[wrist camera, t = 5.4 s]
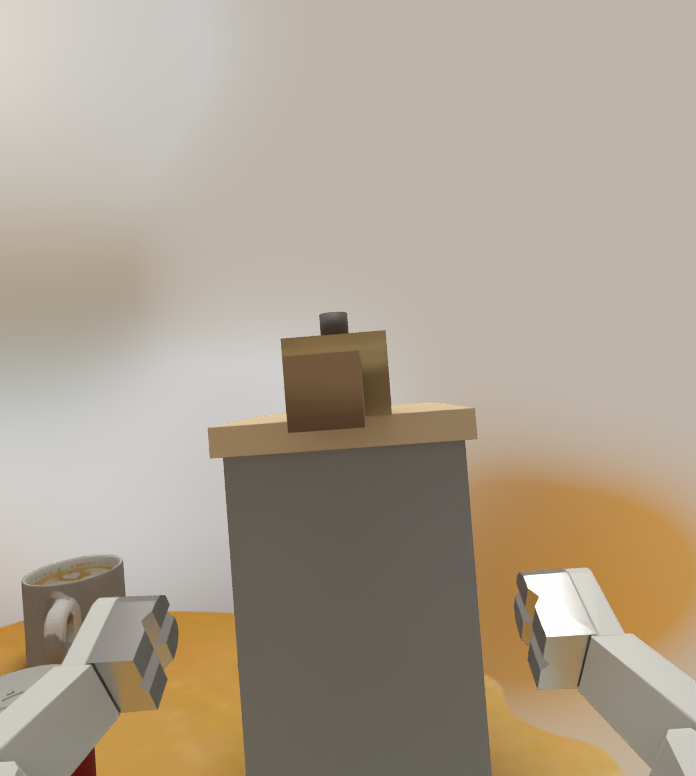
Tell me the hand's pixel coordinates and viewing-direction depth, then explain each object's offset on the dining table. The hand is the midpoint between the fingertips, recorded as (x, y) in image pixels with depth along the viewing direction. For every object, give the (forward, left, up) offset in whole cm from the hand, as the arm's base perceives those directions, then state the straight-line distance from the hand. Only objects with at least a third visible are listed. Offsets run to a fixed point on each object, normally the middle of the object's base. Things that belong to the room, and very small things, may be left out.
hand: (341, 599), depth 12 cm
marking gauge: (+13, +5, +4) cm, 14 cm away
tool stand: (+19, +7, -22) cm, 30 cm away
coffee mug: (+28, +45, -23) cm, 58 cm away
